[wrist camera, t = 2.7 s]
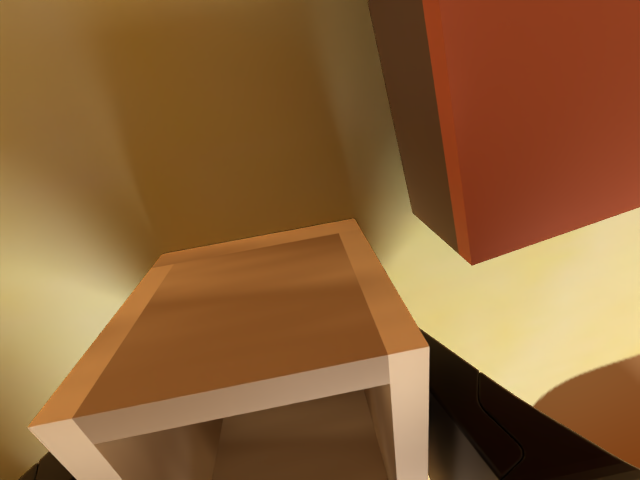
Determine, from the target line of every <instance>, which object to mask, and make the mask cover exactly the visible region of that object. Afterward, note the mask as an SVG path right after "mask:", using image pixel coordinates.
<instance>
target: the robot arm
mask: <svg viewBox="0 0 640 480" xmlns="http://www.w3.org/2000/svg"><path fill="white" fill-rule="evenodd" d="M419 329H420V328H419ZM420 331H421V333H422V335H423V336H424V338H425V340H426V341H427V343H428V345H429V346H430V349H429V425H428V475H429V477H430V479H431V480H640V469H639V468H637V467H635V466H633V465H631V464H629V463H627V462H624V461H623V460H621V459H619V458H618V457H616V456H614V455H613V454H611V453H609V452H607V451H606V450H604V449H602V448H601V447H599V446H597V445H596V444H594V443H592V442H591V441H589V440H587V439H586V438H584V437H582V436H581V435H579V434H577V433H576V432H574V431H572V430H571V429H569V428H567V427H566V426H564V425H562V424H560V423H559V422H557V421H555V420H554V419H552V418H551V417H549V416H547V415H546V414H544V413H542V412H541V411H539V410H537V409H536V408H534V407H533V406H531V405H529V404H528V403H526V402H525V401H523V400H521V399H520V398H518V397H517V396H515V395H514V394H512V393H511V392H509V391H508V390H506V389H505V388H503V387H502V386H500V385H499V384H497V383H496V382H495V381H493V380H492V379H490V378H489V377H487V376H486V375H485V374H483V373H482V372H480V373H479V370H477V369H476V368H475V367H473V366H472V365H470V364H469V363H468V362H466V361H465V360H463V359H462V358H461V357H459V356H458V355H456V354H455V353H454V352H452V351H451V350H449V349H448V348H447V347H445V346H444V345H442V344H441V343H440V342H438V341H437V340H435V339H434V338H433V337H431V336H430V335H428V334H427V333H426V332H424V331H423V330H421V329H420ZM18 480H77V479H76V478H75V477H74V476H73V475H72V474H71V473H70V472H69V471H68V470H67V469H66V468H65V467H64V466H63V465H62V464H61V463H60V462H59V461H58V460H57V459H56V457H55V456H54V455H53V454H52V453H51V452H50V451H49V452H48V453H47V454H46V455H45V456H44V457H42V458H41V459H40V461H39V463H36V464H35V465H34V466H33V467H31V468H30V469H29V470H28V471H27V472H26V473H25V474H24V475H23V476H22V477H21V478H20V479H18Z"/></svg>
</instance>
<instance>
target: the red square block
mask: <svg viewBox="0 0 640 480" xmlns="http://www.w3.org/2000/svg"><path fill="white" fill-rule="evenodd" d="M368 5H369V10H370V15H371V19H372V24H373V29H374V33H375V38H376V43H377V47H378V52H379V57H380V62H381V66H382V71H383V76H384V80H385V85H386V90H387V95H388V99H389V104H390V109H391V113H392V118H393V123H394V127H395V132H396V137H397V142H398V146H399V151H400V156H401V160H402V165H403V170H404V174H405V179H406V184H407V189H408V193H409V198H410V203H411V207H412V212H413V214H414V215H416V216H417V217H418V218H419V219H420V220H421V221H422V222H423V223H425V224H426V225H427V226H428V227H429V228H430V229H431V230H432V231H434V232H435V233H436V234H437V235H438V236H439V237H440V238H441V239H443V240H444V241H445V242H446V243H447V244H448V245H449V246H450V247H452V248H453V249H454V250H455V251H456V252H457V253H458V254H459V255H461V256H462V257H463V258H464V259H465V260H466V261H467V262H468V263H470V264H471V265H475V264H478V263H481V262H483V261H486V260H489V259H492V258H495V257H498V256H501V255H504V254H506V253H509V252H512V251H515V250H518V249H521V248H524V247H527V246H529V245H532V244H535V243H538V242H541V241H544V240H547V239H550V238H552V237H555V236H558V235H561V234H564V233H567V232H570V231H573V230H575V229H578V228H581V227H584V226H587V225H590V224H593V223H595V222H598V221H601V220H604V219H607V218H610V217H613V216H616V215H618V214H621V213H624V212H627V211H630V210H633V209H636V208H639V207H640V0H368Z"/></svg>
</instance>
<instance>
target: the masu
mask: <svg viewBox="0 0 640 480" xmlns="http://www.w3.org/2000/svg"><path fill="white" fill-rule="evenodd" d="M429 349H430V346H429V345H428V343H427V341H426V340H425V338H424V336H423V335H422V333H421V331H420V329H419V328H418V326H417V324H416V323H415V321H414V319H413V318H412V316H411V314H410V312H409V311H408V309H407V307H406V306H405V304H404V302H403V300H402V299H401V297H400V295H399V294H398V292H397V290H396V289H395V287H394V285H393V283H392V282H391V280H390V278H389V277H388V275H387V273H386V271H385V270H384V268H383V266H382V265H381V263H380V261H379V260H378V258H377V256H376V254H375V253H374V251H373V249H372V248H371V246H370V244H369V243H368V241H367V239H366V237H365V236H364V234H363V232H362V231H361V229H360V227H359V225H358V224H357V222H356V220H355V219H354V218H353V219H348V220H342V221H337V222H332V223H326V224H321V225H315V226H310V227H305V228H299V229H294V230H289V231H283V232H278V233H272V234H267V235H262V236H256V237H251V238H245V239H240V240H235V241H229V242H224V243H218V244H213V245H208V246H202V247H197V248H192V249H186V250H181V251H175V252H170V253H165V254H162V255H161V256H160V257H159V259H158V260H157V261H156V262H155V264H154V265H153V266H152V268H151V269H150V270H149V271H148V273H147V274H146V275H145V277H144V278H143V279H142V280H141V282H140V283H139V284H138V286H137V287H136V288H135V289H134V291H133V292H132V293H131V295H130V296H129V297H128V298H127V300H126V301H125V302H124V304H123V305H122V306H121V307H120V309H119V310H118V311H117V313H116V314H115V315H114V316H113V318H112V319H111V320H110V322H109V323H108V324H107V325H106V327H105V328H104V329H103V331H102V332H101V333H100V334H99V336H98V337H97V338H96V340H95V341H94V342H93V343H92V345H91V346H90V347H89V349H88V350H87V351H86V352H85V354H84V355H83V356H82V358H81V359H80V360H79V361H78V363H77V364H76V365H75V367H74V368H73V369H72V370H71V372H70V373H69V374H68V376H67V377H66V378H65V379H64V381H63V382H62V383H61V384H60V386H59V387H58V388H57V390H56V391H55V392H54V393H53V395H52V396H51V397H50V399H49V400H48V401H47V402H46V404H45V405H44V406H43V408H42V409H41V410H40V411H39V413H38V414H37V415H36V417H35V418H34V419H33V420H32V422H31V423H30V424H29V426H28V427H27V428H28V429H29V430H30V431H31V432H32V433H33V434H34V435H35V437H36V438H37V439H38V440H39V441H40V442H41V443H42V444H43V445H44V446H45V447H46V448H47V449H48V450H49V451H50V452H51V453H52V454H53V455H54V456H55V457H56V459H57V460H58V461H59V462H60V463H61V464H62V465H63V466H64V467H65V468H66V469H67V470H68V471H69V472H70V473H71V474H72V475H73V476H74V477H75V478H76V479H77V480H428V425H429Z"/></svg>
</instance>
